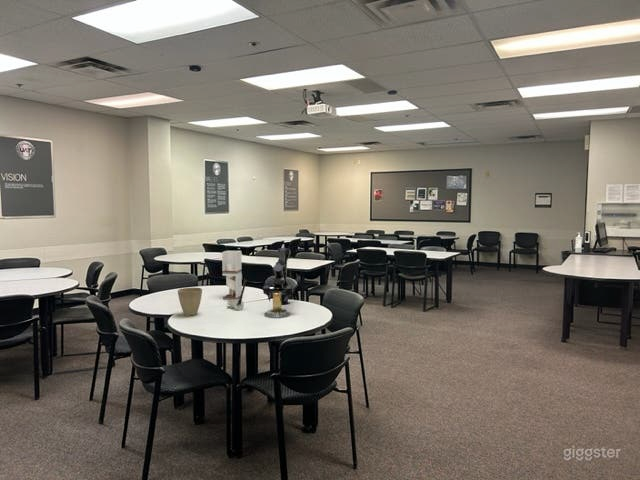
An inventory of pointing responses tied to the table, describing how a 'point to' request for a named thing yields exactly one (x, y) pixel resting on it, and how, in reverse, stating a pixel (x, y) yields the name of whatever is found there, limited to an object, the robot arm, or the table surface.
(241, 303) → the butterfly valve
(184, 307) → the plant pot
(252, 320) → the table surface
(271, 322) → the table surface
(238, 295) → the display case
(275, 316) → the flange
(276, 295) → the gold flared cylinder
